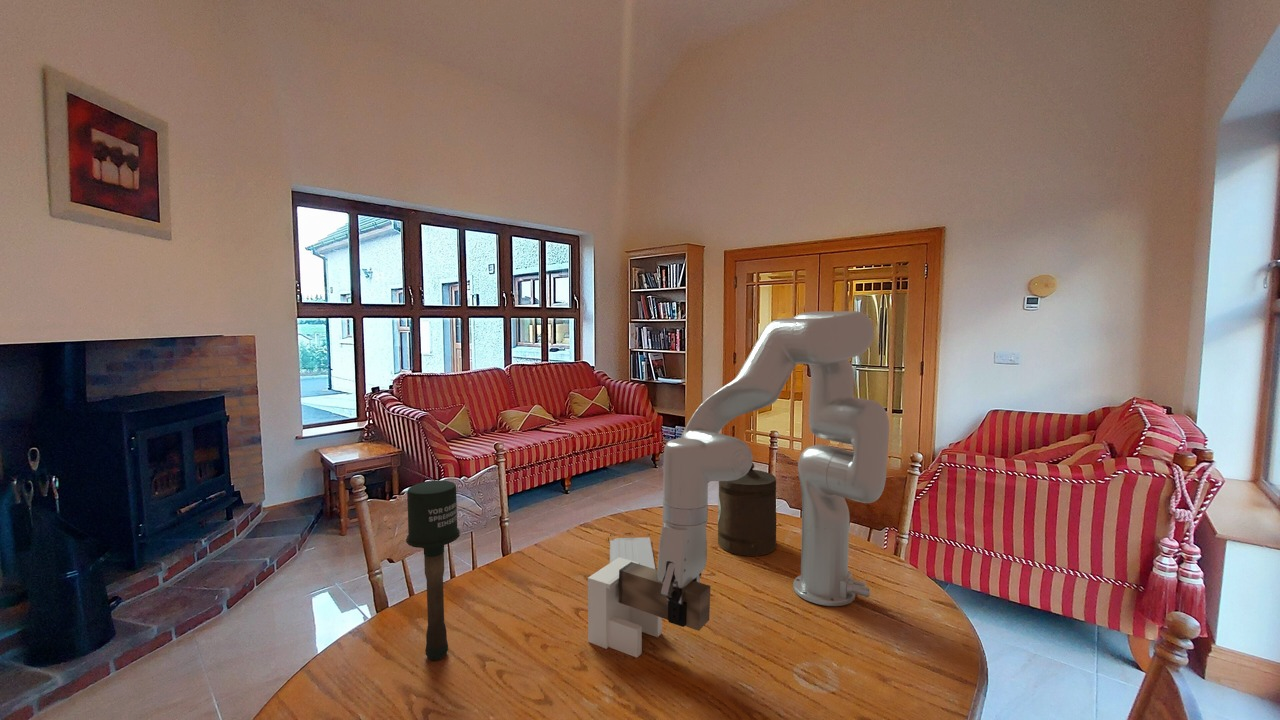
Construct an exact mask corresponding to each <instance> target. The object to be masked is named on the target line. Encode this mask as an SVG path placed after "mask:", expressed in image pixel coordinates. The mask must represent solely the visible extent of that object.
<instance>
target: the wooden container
mask: <svg viewBox="0 0 1280 720" xmlns="http://www.w3.org/2000/svg"><path fill="white" fill-rule="evenodd" d="M754 468H755V463H754V462H752V466H751V468H750V470H749V471H748V473H747V474H746V475H745V476H743V477H742V478H740V479H737V480H733V481H718V501H717V502H718V504H717V505H718V506H717V507H718V508H717V544H718V545H719V547H720V548H721V549H722V550H723V551H724V550H725V551H726V552H728V553H731V554H735V555H738V556H745V557H759V556H764V555H769V554H771V553H773V552H774V551H775V550H776V549H777V548H776V547H777V478H776V476H775V475H774V474H772V473H770V472H768V471H763V470H758V469H754Z"/></svg>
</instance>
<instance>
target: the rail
mask: <svg viewBox="0 0 1280 720" xmlns="http://www.w3.org/2000/svg"><path fill="white" fill-rule="evenodd" d="M657 572H658V569H656V568H655V569H653V568H650V567H646V566H643V565H640V564H637V563H633V562H630V563H629V564H627V565H626V566H624V567H623V568H621V569H620V570H619V600H618V602H619V603H622V604H624V605H627V606H630V607H633V608H636V609H639V610H641V611H644V612H647V613H650V614H653V615H655V616H658V617H661V618H662V619H664V620H667V621H668V601H667V597H666V596H664V595H662V594H661V590H662V586H663V583H664V582H659V581H658V578H657ZM674 581H676V579H675V580H674ZM676 582H678V581H676ZM673 590H674V591H677V592H678V594H679V591H680V589H679V588H676V587H674V589H673ZM684 602H685V603H687V607H686V625H685V626H684V627H687V628H689V629H692V630H695V631H697V632H700V631H701V629H703V627H704V626H705V625H706V624H707V623H708V622H709V621H710V612H711V611H710V609H711V608H710V607H711V585H709V584H705V583H702V582H700V583H699V582H696V581H693V580H692V581H691V582H690V583H689V584H688V585H686V589H685V600H684Z"/></svg>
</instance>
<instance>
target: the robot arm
mask: <svg viewBox="0 0 1280 720" xmlns="http://www.w3.org/2000/svg"><path fill="white" fill-rule="evenodd" d="M874 337H875V326H874V325H873V322H872V320H871V318H870V317H869V316H868V315H866V313H864V312H861V311H856V310H855V311H854V310H852V311H851V310H850V311H849V310H848V311H845V310H843V311H824V310H823V311H822V310H821V311H820V310H819V311H808V312H802V313H799V314H797V315H795V316H794V317H791V318H789V317H788V318H778V319H777V318H776V319H775V320H774V319H773V320H772V321H770V322H769V323H768V324H767V325H766V326H765V327H764V328H763V330H762V331H761V333H760V335H759V337H758V338H757V340H756V342H755V344H754V345H753V347H752V349H751V351H750V353H749V354H748V356H747V358H746V359H745V362H743V364H742V366H741V368H740V370H739V371H738V373H737V375H736V376H735V378H734V379H733V380H731V381H729V382H728V383H726V384H725V385H724V386H722V387H720V388H719V389H718V390H717V391H715V392H714V393H713V394H712V395H710V396H709V397H708V398H706V399H705V400H704V401H703V402H702V403H701V404H700V405H699V406H698V407H697V409H695V411H694V413H692V416H691V417H690V419H689V421H688V422H687V424H686V426H685V427H684V429H683V431H682V432H681V436H680V437H679V438H675V439H670V440H669V441H667V442H666V443H665V445H664V448H663V480H662V481H663V483H662V484H663V485H662V487H663V488H662V489H663V490H662V491H663V492H662V493H663V494H662V495H663V497H662V523H663V524H662V526H661V531H660V537H659V545H658V555H657V556H658V558H657V570H658V572H657V578H658V581H659V582H664V583H663V586H662V590H661V594H662V595H664V596H666V597H667V601H668V620H667V621H668V623H671V624H673V625H676V626H679V627H681V628H684V627H686V626H685V625H686V607H687V603H685V602H684V600H685V589H686V585H688V584H689V583H690V582H691V581H692V580H693V581H696V582H699V583H701V576H702V572H704V570H705V568H706V565H707V559H708V558H707V554H708V553H707V552H708V551H707V550H708V548H707V547H708V544H707V542H708V540H707V524H708V507H709V503H708V498H709V497H708V495H709V494H708V493H709V483H710V482H719V481H733V480H737V479H740V478H742V477H743V476H745V475H746V474H747V473H748V471H749V470H750V468H751V466H752V463H754V461H753V460H754V458H753V451H752V450H751V448H750V446H749V444H747V443H746V442H744V441H743V440H741V439H740V438H737V437H734V436H731V435H725V434H723V433H720V431H722V429H723V428H724V427H725V426H726V425H727V424H728V423H729V422H731V421H732V420H734V419H736V418H737V417H739V416H741V415H745V414H747V413H752V412H754V411H757V410H760V409H763V408H766V407H769V406H771V405H773V404H774V403H776V402H777V401H778V399H779V397H780V396H781V393H782V392H783V389H784V387H785V386H786V384H787V382H788V380H789V378H790V377H791V374H792V373H793V371H794V369H795V367H796V366H797V365H808V367H809V370H810V391H809V409H808V425H809V426H808V427H809V429H810V432H811V433H812V434H813V435H814V436H815V437H818V438H819V439H820V438H821V439H823V440H827V441H831V442H836V443H841V444H846V445H851V446H852V450H848V449H845V448H840V447H837V446H836V447H835V446H830V445H824V444H816V445H815V444H814V445H811V446H808V447H806V448H805V449H804V450H803V451H802V452H801V454H800V456H799V457H798V462H797V471H798V478H799V479H798V480H799V485H800V490H801V501H802V502H801V507H802V509H801V510H802V511H801V546H800V547H801V551H800V575H798V576H796V577H795V578H794V580H793V584H792V586H793V587H792V588H793V591H794V592H795V594H796V595H798V596H799V597H801V598H802V599H803V600H805V601H807V602H809V603H812V604H816V605H819V606H820V605H821V606H827V607H840V606H846V605H849V604H850V603H852V602H854V600H855V598H856V595H858V596H861V597H865V598H870V594H871V588H870V587H868V586H867V585H866V582H864V581H860V580H855V579H854V578H852V571H851V570H850V571H849V549H850V548H849V546H850V545H849V544H850V511H849V506H848V504H847V501H846V499H848V500H851V501H854V502H858V503H863V504H870V503H871V504H872V503H874V502H876V501H877V500H879V498H880V497H881V496H882V494H883V492H884V489H885V485H886V480H887V472H888V471H887V470H888V469H887V467H888V455H889V453H888V452H889V443H890V442H889V441H890V421H889V416H888V413H887V410H886V409H885V407H884V406H883V405H882V404H881V403H879V402H877V401H875V400H872V399H868V398H867V399H866V398H860V397H859V398H858V397H855V395H854V389H855V388H854V382H855V381H854V380H855V378H854V377H855V374H854V368H853V366H852V364H851V361H850V359H851V358H854V357H859V356H862V354H864V353H865V352H867V350H868V349H870V346H871V345H872V343H873V341H874ZM675 579H676V581H678V582H676V581H674V580H675ZM674 587H676V588H679V589H680V591H679V594H678V592H677V591H674V590H673V589H674Z"/></svg>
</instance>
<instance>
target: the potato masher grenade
mask: <svg viewBox="0 0 1280 720" xmlns="http://www.w3.org/2000/svg"><path fill="white" fill-rule="evenodd" d="M406 494H407V498H406V499H407V526H408V527H407V528H408V529H407V531H408V534H407V536H406V539H405V542H406V544H407V545H408V546H410V547H413V548H419V549H423V556H424V558H423V561H424V576H425V580H426V601H427V602H426V604H427V607H426V610H427V629H426V633H425V634H426V636H425V637H426V638H425V639H426V643H425V644H426V645H425V650H424V651H425V652H424V653H425V656H426V657H427V659H428V660H430V661H439V660H441V659H443V658H444V657H445V656H446V655H447V654H448V651H449V643H448V639H447V638H448V636H447V632H448V631H447V628H446V624H445V606H444V605H445V603H444V601H445V600H444V599H445V598H444V575H445V545H448V544H451V543H453V542H455V541H457V539H458V538H460V536H461V534H460V533H461V531H460V529H459V528H458V505H457V502H458V501H457V500H458V499H457V484H456V483H454V482H453V481H450V480H428V481H423V482H418V483H416V484H413V485H411V486H410V487H408V489H407V491H406Z"/></svg>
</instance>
